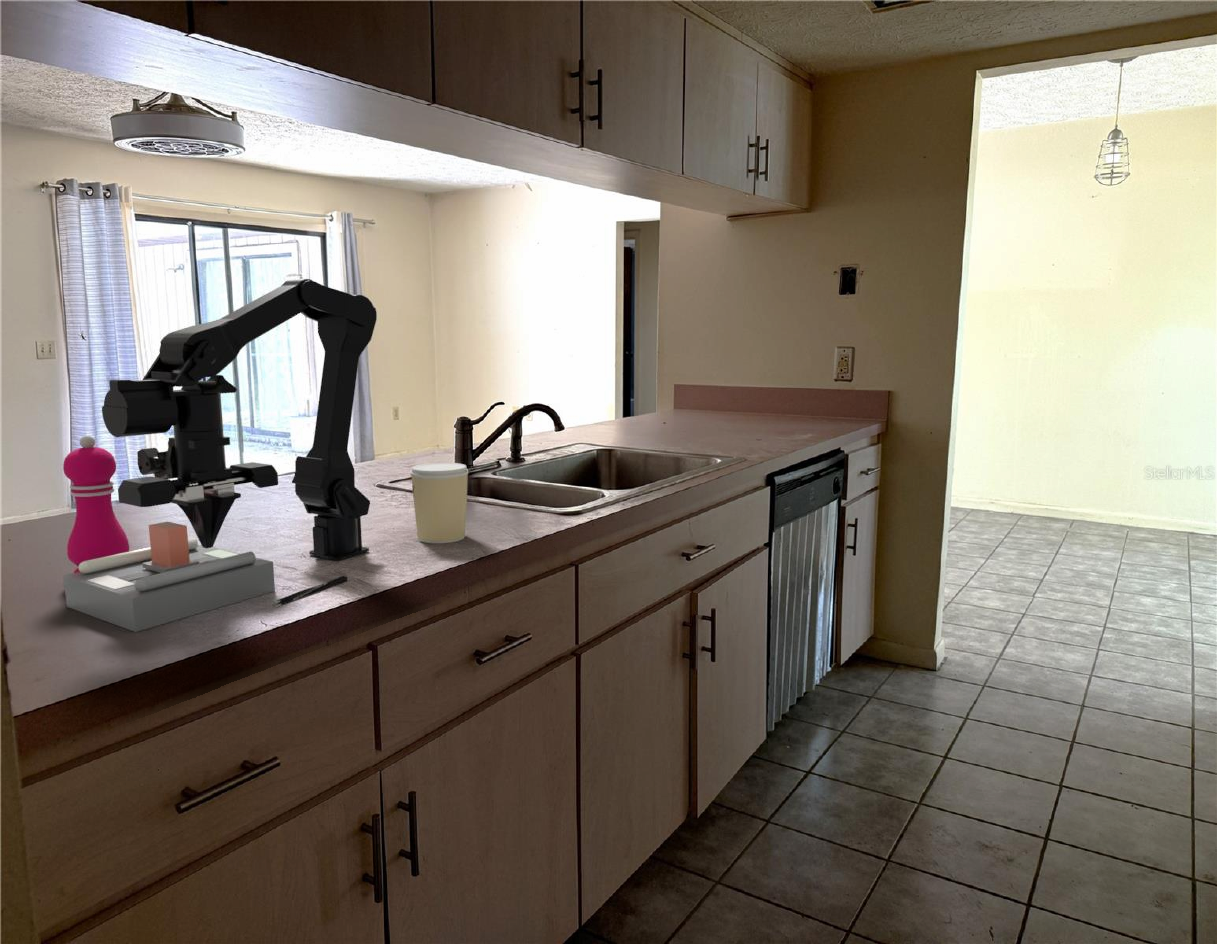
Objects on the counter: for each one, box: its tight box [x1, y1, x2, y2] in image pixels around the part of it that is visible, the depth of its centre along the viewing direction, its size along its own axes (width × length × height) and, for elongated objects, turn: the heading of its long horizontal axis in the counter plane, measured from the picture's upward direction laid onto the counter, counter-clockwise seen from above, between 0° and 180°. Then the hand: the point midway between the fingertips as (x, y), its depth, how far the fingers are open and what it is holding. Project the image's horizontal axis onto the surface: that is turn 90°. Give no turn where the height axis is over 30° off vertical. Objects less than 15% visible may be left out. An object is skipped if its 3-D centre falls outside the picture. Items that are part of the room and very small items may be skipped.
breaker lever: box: [142, 520, 199, 573], centre depth 103 cm, size 4×5×5 cm
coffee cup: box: [409, 462, 469, 544], centre depth 135 cm, size 9×9×12 cm
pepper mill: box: [62, 435, 130, 573], centre depth 111 cm, size 7×7×20 cm
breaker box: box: [63, 537, 276, 633], centre depth 104 cm, size 18×16×6 cm
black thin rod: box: [271, 575, 349, 608], centre depth 107 cm, size 12×1×1 cm, turn 154°
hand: (207, 547), depth 108 cm, fingers closed
